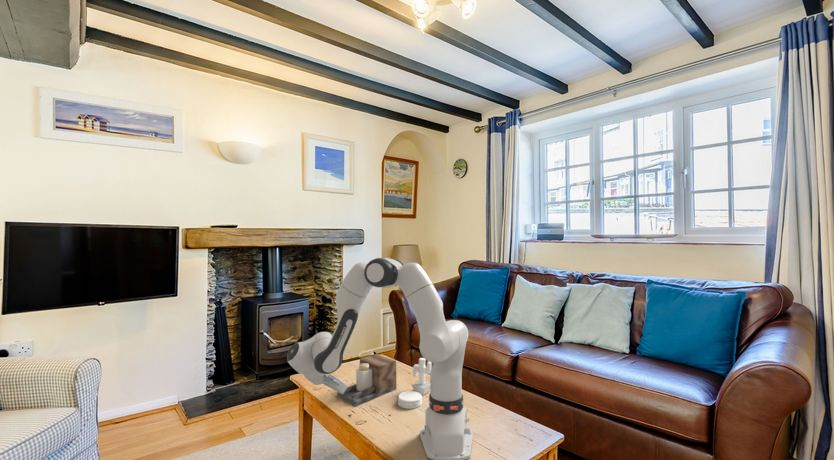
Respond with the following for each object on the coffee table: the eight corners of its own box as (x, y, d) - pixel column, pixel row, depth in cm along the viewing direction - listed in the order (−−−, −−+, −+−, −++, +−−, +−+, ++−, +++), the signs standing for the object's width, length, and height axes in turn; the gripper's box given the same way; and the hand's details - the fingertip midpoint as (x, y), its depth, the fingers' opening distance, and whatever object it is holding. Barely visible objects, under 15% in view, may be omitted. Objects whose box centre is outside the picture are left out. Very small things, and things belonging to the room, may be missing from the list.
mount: (356, 406, 155) (356, 374, 155) (337, 396, 165) (336, 366, 165) (396, 389, 171) (396, 360, 171) (376, 380, 181) (376, 353, 181)
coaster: (423, 399, 161) (423, 390, 161) (420, 410, 151) (420, 401, 151) (400, 398, 162) (400, 390, 162) (396, 409, 152) (396, 400, 152)
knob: (363, 393, 163) (363, 367, 163) (356, 389, 166) (356, 365, 166) (372, 389, 167) (372, 364, 167) (365, 386, 170) (365, 362, 170)
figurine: (418, 386, 173) (418, 354, 173) (435, 391, 168) (435, 358, 168) (409, 392, 168) (408, 358, 168) (426, 397, 162) (425, 363, 162)
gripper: (337, 372, 145) (358, 389, 152) (310, 359, 159) (330, 376, 166) (327, 387, 141) (349, 404, 148) (300, 373, 156) (321, 389, 163)
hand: (339, 389), depth 157 cm, fingers closed
